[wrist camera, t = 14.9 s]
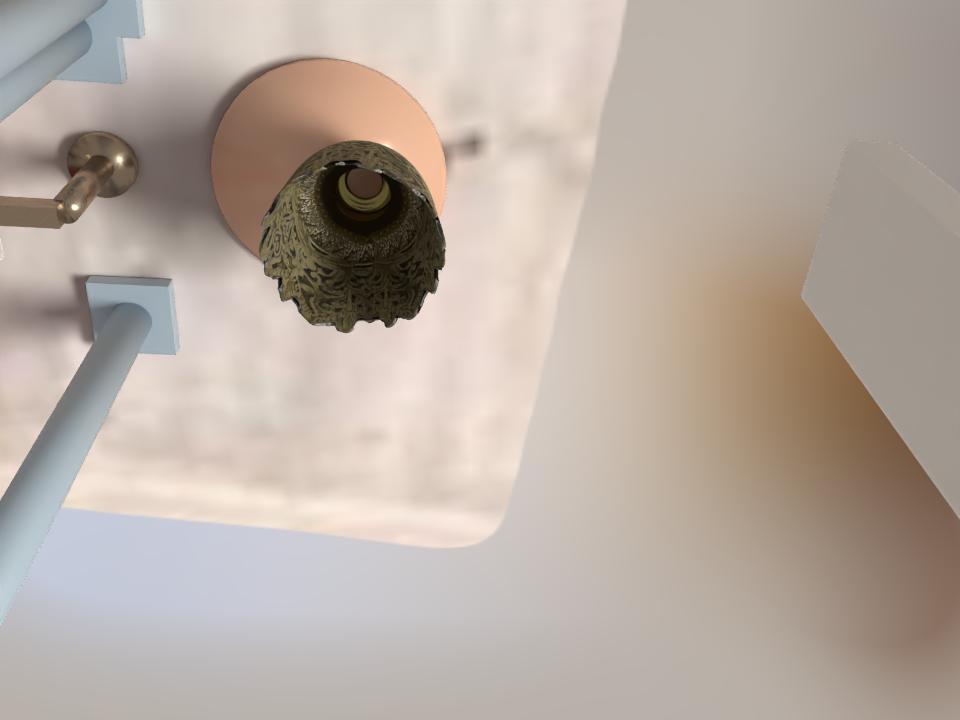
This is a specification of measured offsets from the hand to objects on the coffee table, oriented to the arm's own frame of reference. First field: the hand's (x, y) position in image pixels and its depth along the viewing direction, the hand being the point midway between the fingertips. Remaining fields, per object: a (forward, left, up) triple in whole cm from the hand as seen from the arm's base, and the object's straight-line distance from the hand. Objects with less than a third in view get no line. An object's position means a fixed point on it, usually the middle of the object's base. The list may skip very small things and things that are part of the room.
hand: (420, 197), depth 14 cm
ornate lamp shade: (+11, -2, -28) cm, 30 cm away
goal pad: (+11, -4, -29) cm, 31 cm away
